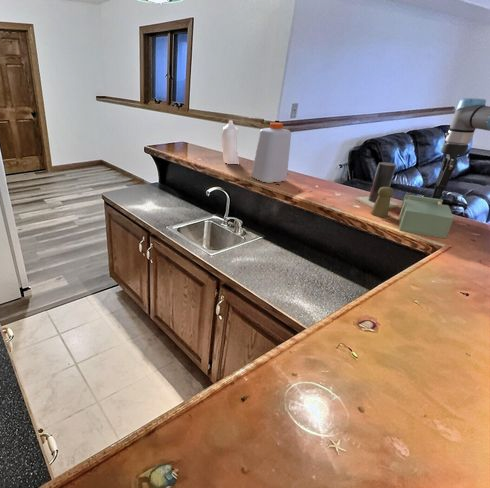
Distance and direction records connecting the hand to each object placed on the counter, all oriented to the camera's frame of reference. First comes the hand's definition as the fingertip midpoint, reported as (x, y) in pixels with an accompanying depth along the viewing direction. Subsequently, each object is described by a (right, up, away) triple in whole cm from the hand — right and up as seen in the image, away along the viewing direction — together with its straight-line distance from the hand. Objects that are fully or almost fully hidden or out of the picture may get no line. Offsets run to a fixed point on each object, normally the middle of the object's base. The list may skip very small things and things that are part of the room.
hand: (434, 202), depth 141 cm
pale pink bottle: (-69, +32, +72) cm, 105 cm away
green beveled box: (-15, -11, -13) cm, 22 cm away
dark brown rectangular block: (-17, +2, +10) cm, 20 cm away
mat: (-17, +1, +10) cm, 20 cm away
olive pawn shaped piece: (-23, -5, -1) cm, 24 cm away
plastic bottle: (-55, +17, +42) cm, 71 cm away
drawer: (-8, -5, -3) cm, 10 cm away
